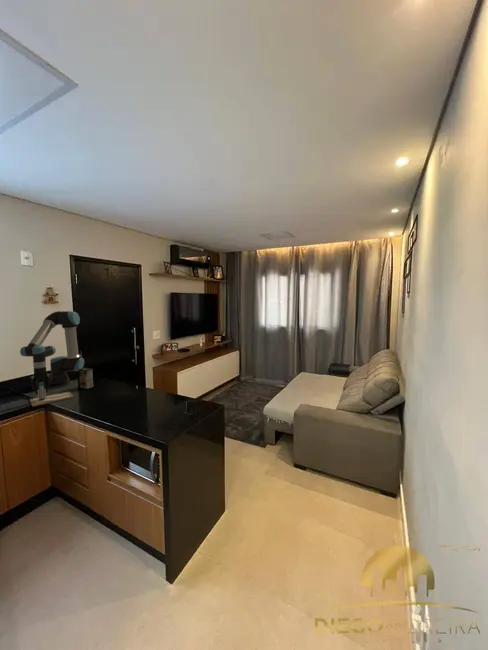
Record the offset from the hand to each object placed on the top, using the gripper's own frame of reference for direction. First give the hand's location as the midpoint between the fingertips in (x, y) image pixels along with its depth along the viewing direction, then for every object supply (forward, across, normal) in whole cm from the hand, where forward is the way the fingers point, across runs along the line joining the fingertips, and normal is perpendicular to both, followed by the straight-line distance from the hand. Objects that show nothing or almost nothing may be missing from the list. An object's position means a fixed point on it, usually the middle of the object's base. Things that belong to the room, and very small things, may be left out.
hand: (42, 397), depth 213 cm
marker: (+1, 0, 0) cm, 1 cm away
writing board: (+3, +6, 0) cm, 7 cm away
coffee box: (+3, +33, +14) cm, 36 cm away
